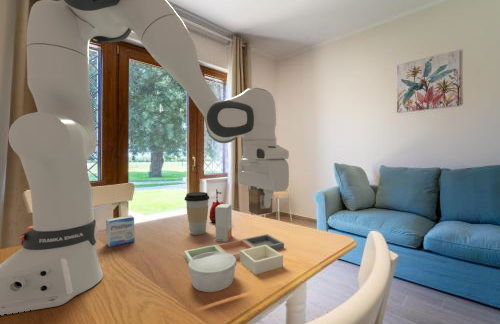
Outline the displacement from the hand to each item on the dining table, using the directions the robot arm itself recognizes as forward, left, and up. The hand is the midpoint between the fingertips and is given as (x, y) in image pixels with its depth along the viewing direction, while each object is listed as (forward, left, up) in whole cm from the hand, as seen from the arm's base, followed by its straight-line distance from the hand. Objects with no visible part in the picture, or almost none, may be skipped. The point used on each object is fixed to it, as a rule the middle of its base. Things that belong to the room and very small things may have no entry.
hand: (260, 204), depth 64 cm
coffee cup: (-7, +36, -17) cm, 40 cm away
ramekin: (-14, -1, -17) cm, 22 cm away
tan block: (0, 0, -2) cm, 2 cm away
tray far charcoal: (+7, +11, -16) cm, 21 cm away
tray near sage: (-12, +11, -16) cm, 23 cm away
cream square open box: (0, 0, -16) cm, 17 cm away
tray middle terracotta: (-3, +11, -16) cm, 20 cm away
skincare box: (-1, +24, -17) cm, 29 cm away
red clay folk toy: (+5, +46, -17) cm, 49 cm away
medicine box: (-33, +39, -17) cm, 53 cm away
